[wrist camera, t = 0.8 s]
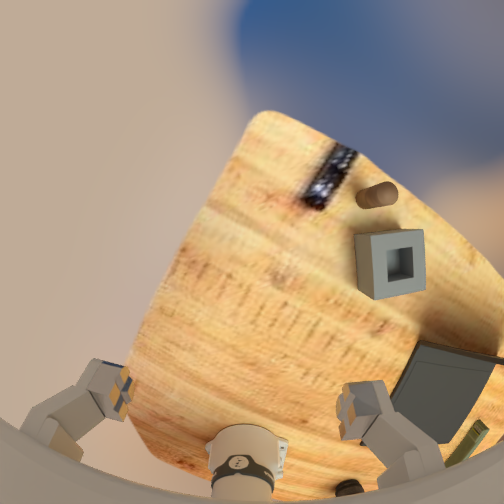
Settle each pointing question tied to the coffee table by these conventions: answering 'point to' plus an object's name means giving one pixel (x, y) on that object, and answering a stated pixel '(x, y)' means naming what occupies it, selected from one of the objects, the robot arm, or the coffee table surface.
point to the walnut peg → (377, 196)
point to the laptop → (441, 388)
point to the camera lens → (348, 488)
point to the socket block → (390, 262)
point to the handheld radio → (468, 444)
